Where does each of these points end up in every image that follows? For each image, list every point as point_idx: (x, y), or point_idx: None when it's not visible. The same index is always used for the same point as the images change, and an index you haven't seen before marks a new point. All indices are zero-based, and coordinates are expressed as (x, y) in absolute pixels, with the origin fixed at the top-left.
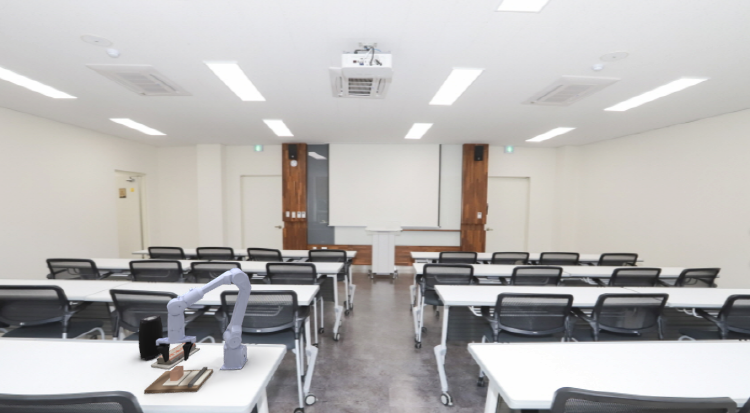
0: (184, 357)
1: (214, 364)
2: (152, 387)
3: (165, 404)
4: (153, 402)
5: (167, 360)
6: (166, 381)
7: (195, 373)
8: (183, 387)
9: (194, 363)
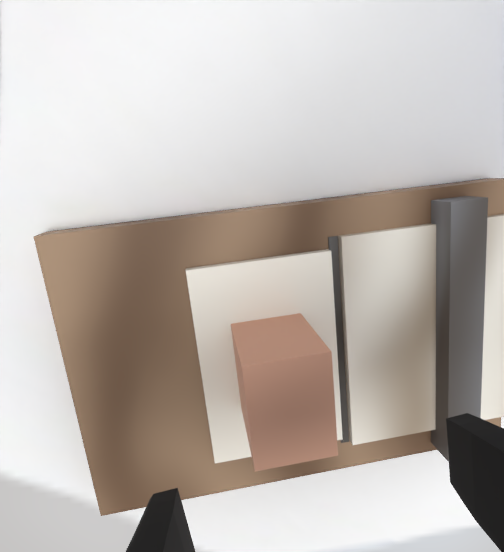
0: (502, 542)
1: (437, 28)
2: (141, 479)
3: (351, 546)
4: (258, 546)
5: (186, 528)
6: (212, 417)
7: (397, 277)
8: (399, 445)
9: (203, 4)
